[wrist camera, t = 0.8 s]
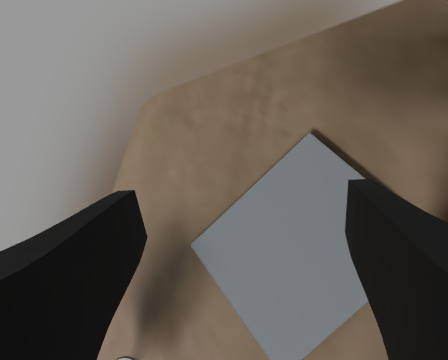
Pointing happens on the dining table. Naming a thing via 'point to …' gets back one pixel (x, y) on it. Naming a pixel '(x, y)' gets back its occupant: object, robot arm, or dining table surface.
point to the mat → (288, 252)
